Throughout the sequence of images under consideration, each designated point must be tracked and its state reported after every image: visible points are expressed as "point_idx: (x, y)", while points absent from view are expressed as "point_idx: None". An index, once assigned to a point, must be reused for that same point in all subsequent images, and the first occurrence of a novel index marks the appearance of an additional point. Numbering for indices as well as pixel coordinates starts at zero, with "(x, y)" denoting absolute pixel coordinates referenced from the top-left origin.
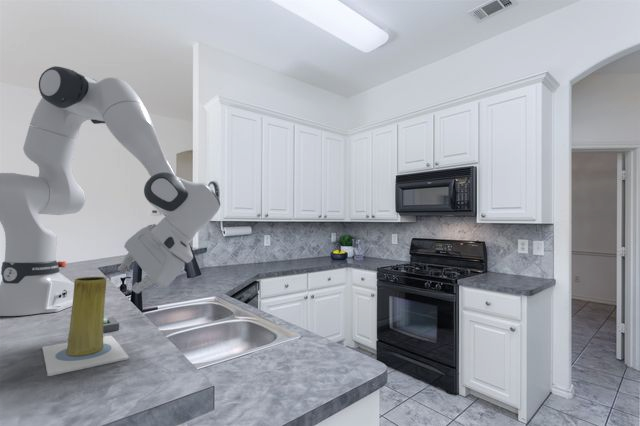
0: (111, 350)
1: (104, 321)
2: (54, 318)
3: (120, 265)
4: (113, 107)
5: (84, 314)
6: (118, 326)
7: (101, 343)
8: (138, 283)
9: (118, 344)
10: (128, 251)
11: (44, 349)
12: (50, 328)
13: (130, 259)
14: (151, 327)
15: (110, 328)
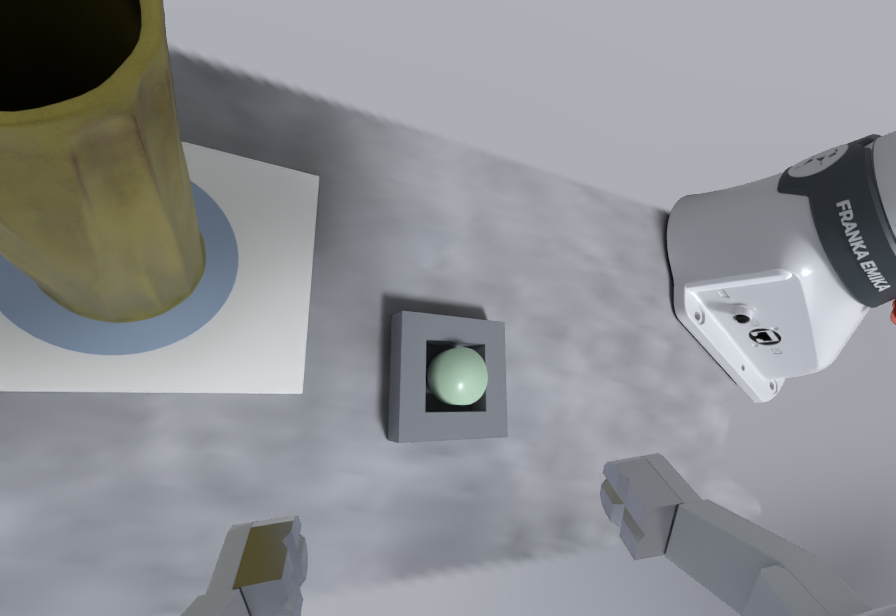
0: (27, 342)
1: (438, 389)
2: (621, 295)
3: (676, 478)
4: None
5: None
6: (392, 439)
7: (58, 296)
8: (221, 599)
9: (115, 390)
10: (878, 614)
11: (280, 170)
12: (529, 260)
13: (747, 601)
14: (339, 586)
15: (393, 407)
